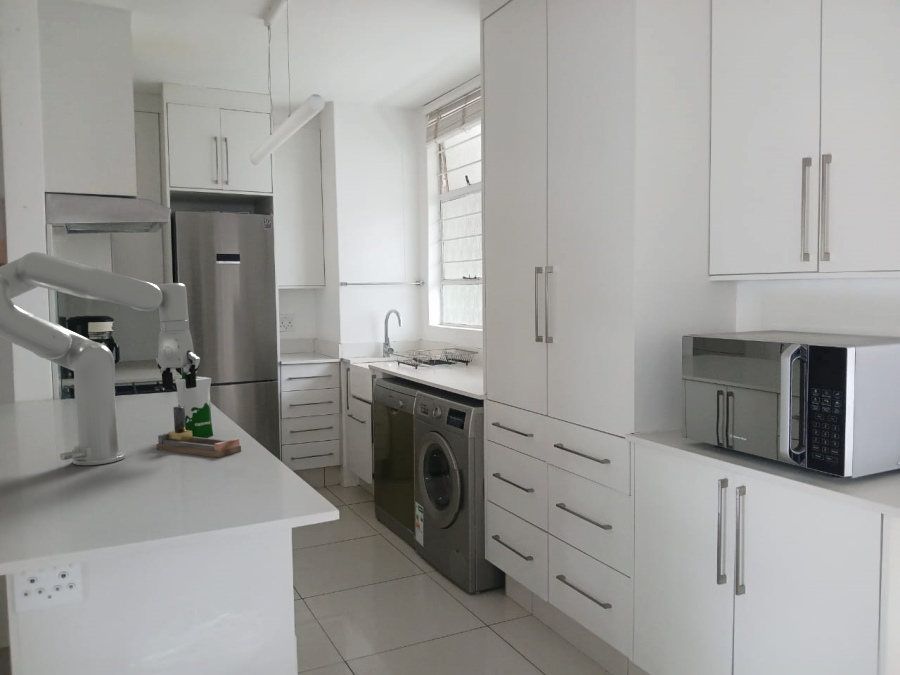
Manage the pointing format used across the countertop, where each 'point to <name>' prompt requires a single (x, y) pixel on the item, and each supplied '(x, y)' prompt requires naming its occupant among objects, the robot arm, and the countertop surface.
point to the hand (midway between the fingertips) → (179, 387)
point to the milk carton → (196, 405)
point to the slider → (180, 426)
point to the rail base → (199, 446)
